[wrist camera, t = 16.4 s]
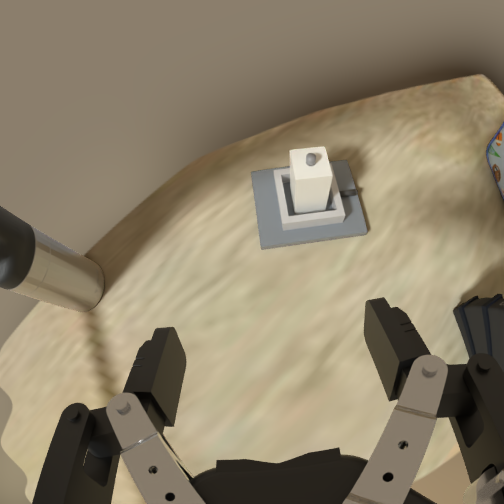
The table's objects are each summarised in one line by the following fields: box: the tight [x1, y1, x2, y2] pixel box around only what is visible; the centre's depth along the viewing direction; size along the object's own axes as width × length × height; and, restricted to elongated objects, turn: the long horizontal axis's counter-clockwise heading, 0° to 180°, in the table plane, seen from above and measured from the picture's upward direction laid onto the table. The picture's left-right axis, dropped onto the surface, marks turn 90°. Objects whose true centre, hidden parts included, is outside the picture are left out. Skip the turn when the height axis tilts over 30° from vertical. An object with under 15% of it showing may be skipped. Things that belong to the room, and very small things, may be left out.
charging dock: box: [251, 160, 368, 250], centre depth 45 cm, size 16×13×4 cm
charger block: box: [290, 146, 333, 215], centre depth 40 cm, size 5×5×11 cm
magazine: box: [453, 294, 504, 372], centre depth 31 cm, size 4×13×15 cm, turn 20°
